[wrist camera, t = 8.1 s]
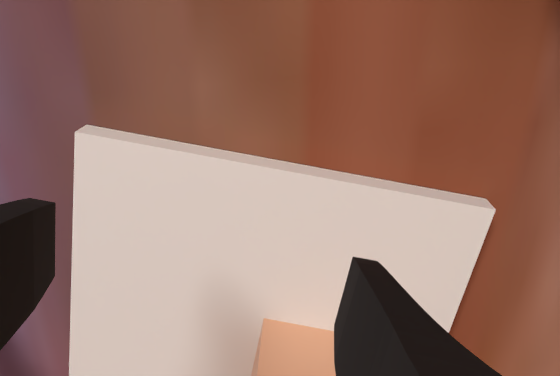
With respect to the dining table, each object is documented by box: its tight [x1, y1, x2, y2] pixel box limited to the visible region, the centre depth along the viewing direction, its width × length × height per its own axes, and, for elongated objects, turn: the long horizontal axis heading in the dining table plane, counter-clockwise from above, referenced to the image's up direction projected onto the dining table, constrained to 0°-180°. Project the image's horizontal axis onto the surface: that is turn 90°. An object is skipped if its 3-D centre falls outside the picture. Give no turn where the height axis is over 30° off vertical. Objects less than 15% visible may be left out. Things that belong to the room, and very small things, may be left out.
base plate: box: [69, 125, 496, 376], centre depth 24 cm, size 18×17×1 cm
